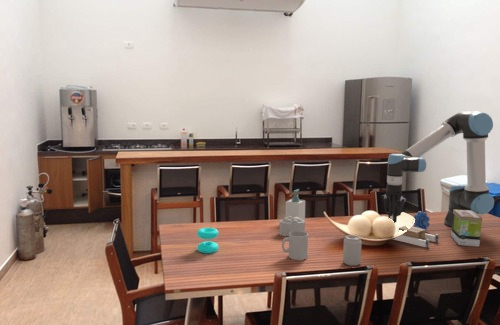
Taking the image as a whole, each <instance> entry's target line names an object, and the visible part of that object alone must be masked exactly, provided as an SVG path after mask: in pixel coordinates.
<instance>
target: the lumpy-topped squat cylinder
mask: <svg viewBox="0 0 500 325" xmlns="http://www.w3.org/2000/svg"><path fill="white" fill-rule="evenodd" d="M292 231H304V232H306V220H305V221H304V220H302V219H301V218H299V217H293V218H292V217H291V216H288V217H286V218H285V217H283V219H280V221H279V235H280V236H281V235H282V237H286V236H289V233H290V232H292Z"/></svg>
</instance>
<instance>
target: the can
mask: <svg viewBox="0 0 500 325" xmlns="http://www.w3.org/2000/svg"><path fill="white" fill-rule="evenodd" d="M362 244H363V243H362V240H361V237H360V236H358V235H356V234H354V235H353V234H349V235H345V237H344V239H343V249H342V250H343V251H342V262H343V263H344V264H345V265H346V266H349V267H357V266H359V265H360V264H361V263H362V246H363V245H362Z"/></svg>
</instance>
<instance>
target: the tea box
mask: <svg viewBox="0 0 500 325" xmlns="http://www.w3.org/2000/svg"><path fill="white" fill-rule="evenodd" d="M482 224H483V217H482V215H480V214H477V213H475V212H474V211H470V210H453V218H452V226H451V231H450V232H451V233H450V237H451V238H452V239H453V240H454V241H455V243H456V244H457V245H458V246H465V247H466V246H467V247H480V243H481V235H482V233H481V232H482Z"/></svg>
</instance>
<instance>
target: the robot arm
mask: <svg viewBox="0 0 500 325" xmlns="http://www.w3.org/2000/svg"><path fill="white" fill-rule="evenodd" d="M493 127H494V122H493V118H492V117H491V116H490V115H489V114H488V113H486V112H482V111H466V110H464V111H461V112H458V113H455V114H454V115H452V116H450V117H449V118H447V119H446V120H444V121H442V122H441V124H440V126H438V128H436V129H434V130H433V131H432V132H429V134H427V135H426V136H423V138H422V139H420V140H419V141H416V143H414V144H413V145H411V146H410V147H409V148H407V149H405V150H404V151H402V152H401V153H390V154H389V155H388V159H387V171H386V172H387V173H386V174H387V175H386V183H387V184H386V192H385V194H383V195H381V196H380V197H381V199H382V202H383V207H384V213H385V215H387V216H388V219H389V218H390V219H392V220H393V221H394V223H395V224H396V223H397V220H398V219H397V217H399V216H401V214H402V211H403V208H404V206H405V205H404V204H405V202H406V201H407V198H405V197H403V194H402V193H403V192H402V190H403V185H402V184H403V175H404V174H403V173H423V172H425V170H426V168H427V161H426V159H425V158H424V157H423V156H424V155H425V154H427V153H428V152H430V151H431V150H433V149H434V148H436V147H437V146H439V145H440V144H441V143H443V142H445V141H446V140H447V139H449V138H454V137H456V136H457V135H459V134H462V138H463V140H465V142H466V171H467V172H466V176H467V177H466V179H467V181H466V182H467V184H452V185H450V187H449V190H448V192H449V195H448V209H447V212H446V214H445V217H444V219H443V220H444V221H443V223H444V225H447V226H449V227H452V218H453V210H470V211H474V212H475V213H477V214H478V215H479V216H483V215H486V214H489V213H490V211H491V210H492V209H493V208H494V206H495V199H494V197H493V196H492V195H491V194H490V189H489V187H488V186H487V182H486V177H487V176H486V175H487V174H486V140H488V138H489V134H490V133H491V131H492V130H493ZM399 201H400V202H399Z"/></svg>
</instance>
